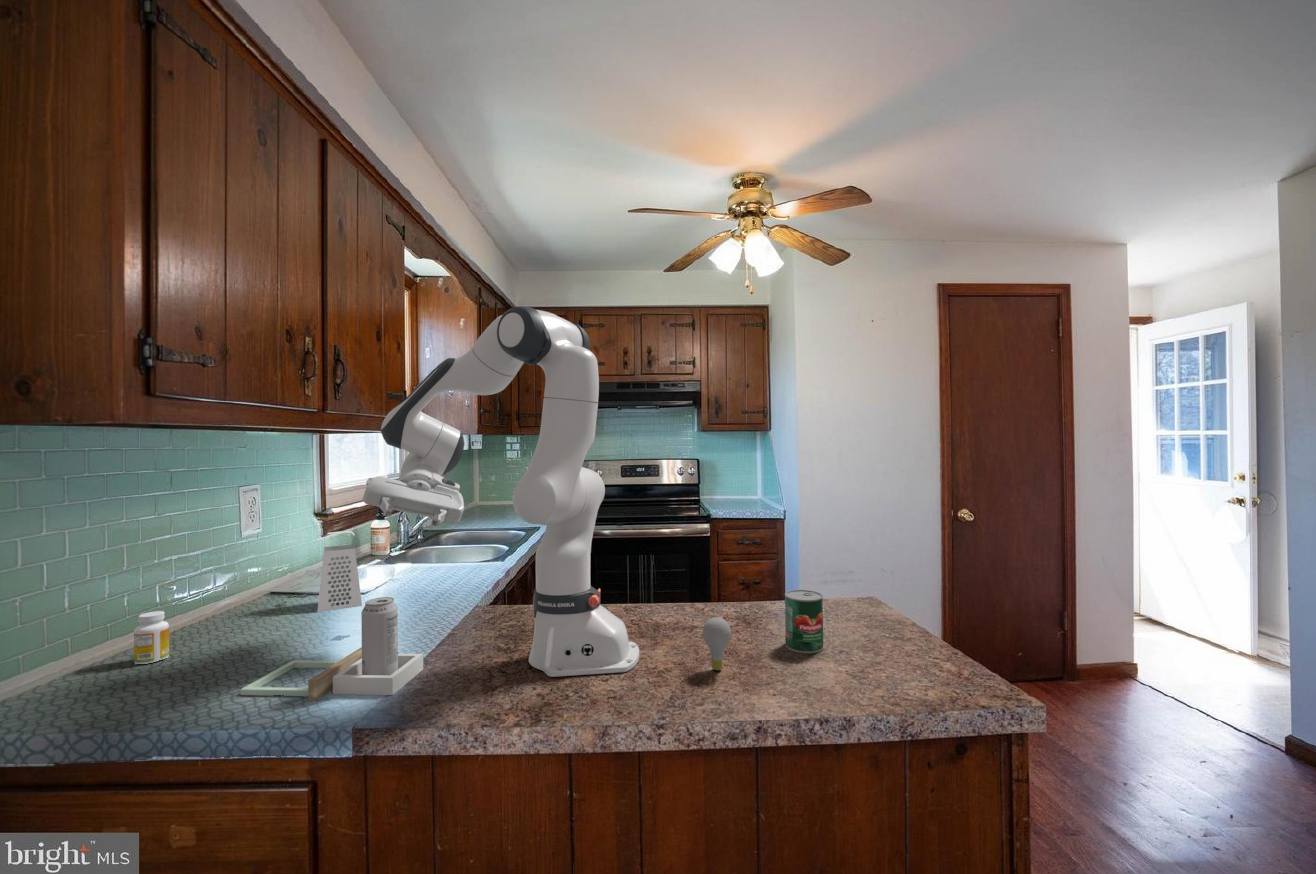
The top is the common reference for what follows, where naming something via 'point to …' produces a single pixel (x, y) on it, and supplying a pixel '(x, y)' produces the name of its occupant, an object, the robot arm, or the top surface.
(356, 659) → the rail
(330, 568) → the grater
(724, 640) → the light bulb
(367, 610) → the energy drink can
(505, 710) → the top surface
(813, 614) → the canned tomato
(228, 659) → the top surface
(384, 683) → the socket
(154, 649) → the supplement bottle
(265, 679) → the socket
